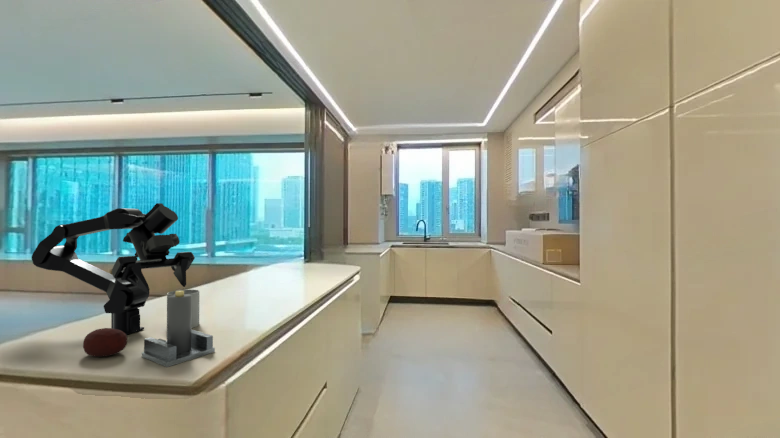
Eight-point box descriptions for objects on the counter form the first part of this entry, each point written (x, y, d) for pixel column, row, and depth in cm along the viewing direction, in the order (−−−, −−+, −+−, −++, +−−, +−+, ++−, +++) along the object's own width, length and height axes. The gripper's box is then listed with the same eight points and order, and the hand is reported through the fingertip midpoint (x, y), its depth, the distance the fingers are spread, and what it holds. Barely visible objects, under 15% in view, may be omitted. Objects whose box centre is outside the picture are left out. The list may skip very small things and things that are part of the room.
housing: (141, 356, 86) (141, 339, 86) (189, 343, 95) (189, 327, 95) (166, 367, 80) (166, 348, 80) (214, 351, 89) (214, 335, 89)
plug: (147, 345, 90) (148, 288, 91) (168, 339, 95) (169, 285, 95) (173, 355, 84) (174, 294, 84) (195, 348, 88) (196, 290, 88)
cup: (184, 330, 106) (185, 295, 106) (160, 329, 108) (160, 294, 108) (205, 322, 114) (205, 290, 114) (181, 321, 116) (182, 289, 116)
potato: (102, 348, 92) (102, 323, 92) (137, 351, 90) (137, 325, 90) (71, 359, 84) (71, 332, 84) (108, 362, 82) (108, 335, 82)
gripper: (117, 224, 92) (138, 272, 86) (191, 223, 108) (213, 264, 102) (103, 254, 97) (122, 302, 91) (176, 249, 112) (197, 290, 106)
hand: (167, 288), depth 97 cm, fingers open, 9 cm apart
